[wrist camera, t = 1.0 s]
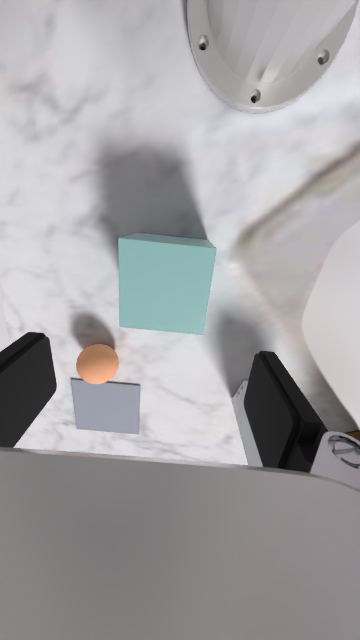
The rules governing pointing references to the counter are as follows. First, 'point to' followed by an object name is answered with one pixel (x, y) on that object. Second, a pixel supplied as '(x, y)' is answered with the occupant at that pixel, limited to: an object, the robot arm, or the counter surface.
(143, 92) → the counter surface
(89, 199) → the counter surface
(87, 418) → the grey square plate
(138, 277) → the mint green block
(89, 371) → the ball
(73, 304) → the counter surface
